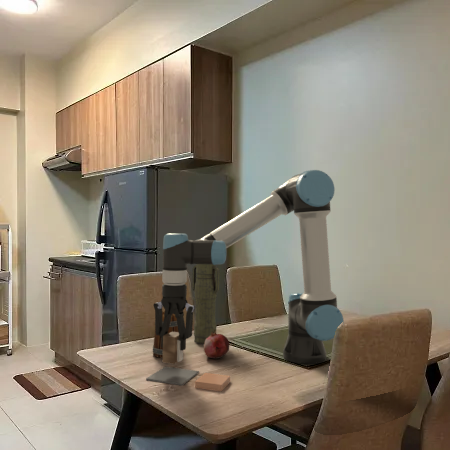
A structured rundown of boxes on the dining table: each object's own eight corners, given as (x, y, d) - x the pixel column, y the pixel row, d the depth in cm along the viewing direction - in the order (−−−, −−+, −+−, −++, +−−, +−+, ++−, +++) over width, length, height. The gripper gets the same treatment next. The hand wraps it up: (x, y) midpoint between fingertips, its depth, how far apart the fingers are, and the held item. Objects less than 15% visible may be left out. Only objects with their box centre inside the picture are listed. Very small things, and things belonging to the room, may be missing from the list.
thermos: (214, 345, 168) (215, 255, 168) (187, 342, 173) (188, 254, 173) (222, 340, 177) (224, 254, 177) (196, 337, 181) (197, 253, 181)
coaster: (199, 372, 137) (199, 371, 137) (182, 385, 126) (182, 383, 126) (165, 367, 142) (165, 366, 142) (146, 379, 130) (146, 378, 130)
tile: (230, 375, 130) (221, 384, 122) (230, 383, 130) (221, 392, 122) (205, 372, 132) (195, 381, 125) (205, 379, 132) (195, 388, 125)
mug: (176, 359, 150) (177, 316, 150) (148, 357, 152) (148, 314, 152) (189, 347, 166) (189, 308, 166) (163, 345, 168) (163, 306, 168)
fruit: (232, 355, 157) (233, 327, 157) (224, 363, 148) (224, 333, 148) (209, 352, 160) (209, 325, 160) (199, 360, 151) (199, 331, 151)
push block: (183, 358, 136) (183, 332, 136) (174, 364, 130) (174, 337, 130) (171, 356, 137) (172, 331, 137) (162, 362, 132) (163, 335, 132)
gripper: (204, 283, 134) (203, 359, 134) (156, 280, 140) (154, 352, 140) (194, 286, 127) (193, 366, 127) (144, 283, 133) (142, 359, 133)
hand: (173, 359), depth 134 cm, fingers closed on push block, 4 cm apart
